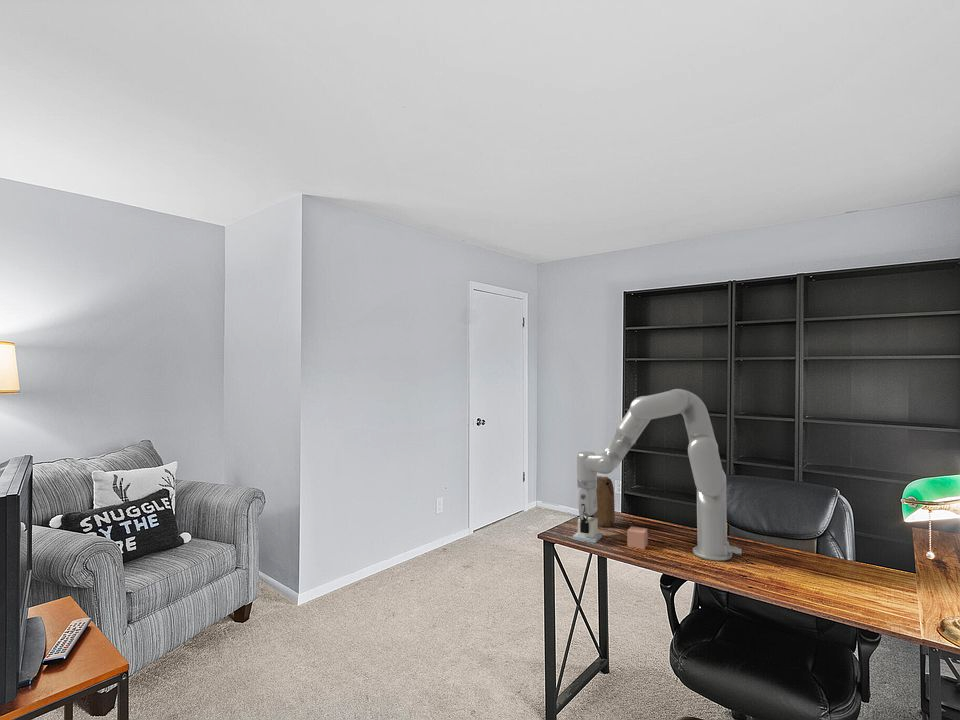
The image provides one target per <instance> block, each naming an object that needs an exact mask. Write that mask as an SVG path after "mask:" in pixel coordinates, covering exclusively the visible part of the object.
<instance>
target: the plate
mask: <svg viewBox="0 0 960 720" xmlns="http://www.w3.org/2000/svg"><path fill="white" fill-rule="evenodd" d="M602 537H603V532H598V534H597V535H596V536H594V537H593V538H590V537H584V536H578V531H577V532H576V533H574V534H573V535H572V540H575V541H580V542H581V541H582V542H588V543H592V544H596V543H598V541H600V539H602Z"/></svg>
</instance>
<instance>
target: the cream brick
mask: <svg viewBox="0 0 960 720" xmlns="http://www.w3.org/2000/svg"><path fill="white" fill-rule="evenodd" d="M584 517H585V518H586V516H584ZM588 523H589V533H588V534H587V533H581V532H580V517H579V518H578V519H577V532H578V536H584V537H590V538H593V537H594V536H596V535H597V534H598V533H599V532H598V531H599V530H598V529H599V527H598V518H593V517H588Z"/></svg>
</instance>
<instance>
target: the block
mask: <svg viewBox="0 0 960 720" xmlns="http://www.w3.org/2000/svg"><path fill="white" fill-rule="evenodd" d="M614 489H615V488H614V485H613V481H612V480H611V478H609V477H608V476H601V475H600V476H598V475H597V489H596V491H597V505H598V510H597V511H596V512H595V517H593V518H598V526H600V527H601V528H603V527H604V528H610V527H613V526H614V525H615V522H616V520H615V519H616V517H615V516H616V515H615V513H616V512H615V490H614Z"/></svg>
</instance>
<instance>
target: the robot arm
mask: <svg viewBox="0 0 960 720" xmlns="http://www.w3.org/2000/svg"><path fill="white" fill-rule="evenodd" d="M679 414H680V415H682V417H683V421H684V425H685V426H684V427H685V429H686V432H687V438H688V446H687V455H688V459H689V464H690V468H691V473H692V476H693V480H694V485H695V488H696V527H697V528H696V531H697V537H696V538H697V541H696V542H697V543H696V544H697V545H696V546H694V547H692V553H693V554H694V555H695V556H696V557H700V558H702V559H705V560H709V561H729V560H731V559H732V558H733V554H735V555H742V548H739V547H738V546H733V545H731V544H730V541H728V533H727V532H728V525H727V522H728V521H727V520H728V519H727V516H728V515H727V510H728V509H727V475H726V473H725V471H724V469H723V465H722V461H721V457H720V452H719V445H718V443H717V440H716V436H715V433H714V428H713V425H712V422H711V418H710V414H709V411H708V408H707V406H706V404H705V403H704V402H703V400H702V398H700V397H699V396H698V395H697V394H695V393H693V392H691V391H689V390H686V389H683V388H674V389H670V390H668V391H663V392H660V393H658V392H657V393H655V394H650V395H642V396H641V395H640V396H638V397H635V398H634V399H633V400H632V401H631V403H630V405H629V409H628V410H627V412H626V413H625V415H624V416H623V418H622V419H621V420H620V421H619V423H618V425H617V427H616V428H615V434H614V436H613V438H612V439H611V441H610V443H608V445H607V447H606V448H605V449H604V451H603V452H602V453H599V454H598V453H597V454H596V453H595V452H593V451H580V452H578V453H576V470H577V471H576V473H577V475H576V481H577V484H576V485H577V486H576V487H577V489H578V501H577V502H578V507H577V508H578V516H579V518H580V532H581V533H587V534H588V533H589V523H588V517H595V512H596V511H597V510H598V505H597V491H596V489H597V476H598V474H603V475H608V474H610V473H612V472H613V471H615V469H617V468H618V467H619V465H620V463H621V462H622V461H623V459H624V458H625V457H626V455H627V454H628V452H629V451H630V450H631V449H632V447H633V446H634V445H635V444H636V442H637V440H638V438H640V436H641V434H643V433H642V432H644V430H645V429H646V428H647V426H648V425H649V424H650V421H651V420H654V419H655V420H656V419H659V418H665V417H671V416H674V415H679ZM584 516H586V518H585V517H584Z"/></svg>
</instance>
